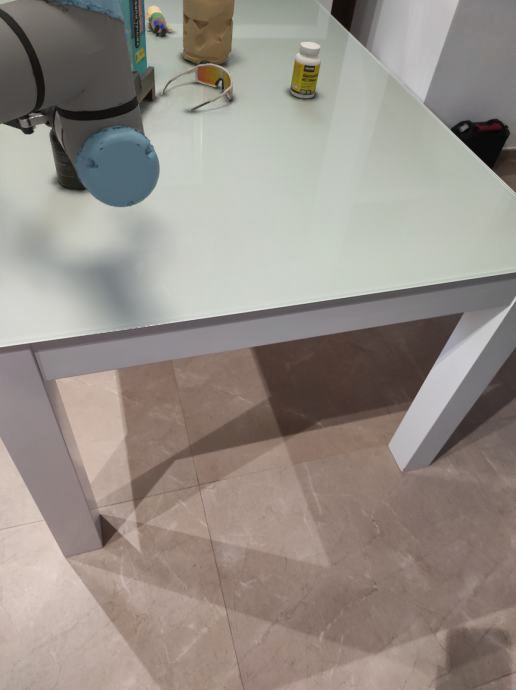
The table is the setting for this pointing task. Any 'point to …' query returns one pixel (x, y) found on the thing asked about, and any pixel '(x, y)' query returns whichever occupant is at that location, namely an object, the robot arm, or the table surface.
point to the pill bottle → (306, 70)
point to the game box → (135, 33)
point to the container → (207, 30)
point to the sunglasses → (209, 80)
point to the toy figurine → (157, 20)
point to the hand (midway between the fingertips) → (55, 79)
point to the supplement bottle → (64, 165)
